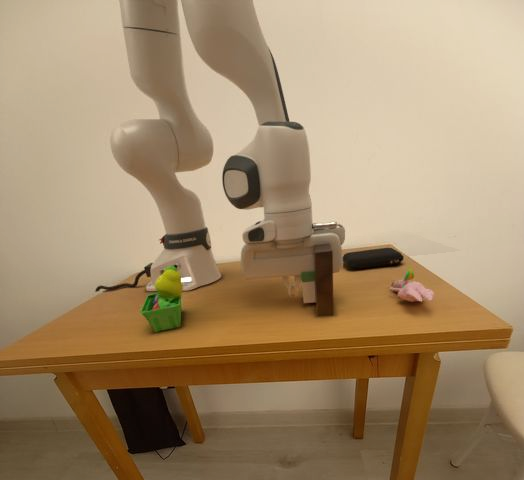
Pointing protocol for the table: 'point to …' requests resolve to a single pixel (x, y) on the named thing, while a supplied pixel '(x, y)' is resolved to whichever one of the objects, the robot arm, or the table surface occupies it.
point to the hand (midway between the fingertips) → (293, 295)
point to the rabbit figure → (411, 289)
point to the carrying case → (372, 258)
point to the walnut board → (323, 279)
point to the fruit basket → (165, 301)
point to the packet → (308, 286)
